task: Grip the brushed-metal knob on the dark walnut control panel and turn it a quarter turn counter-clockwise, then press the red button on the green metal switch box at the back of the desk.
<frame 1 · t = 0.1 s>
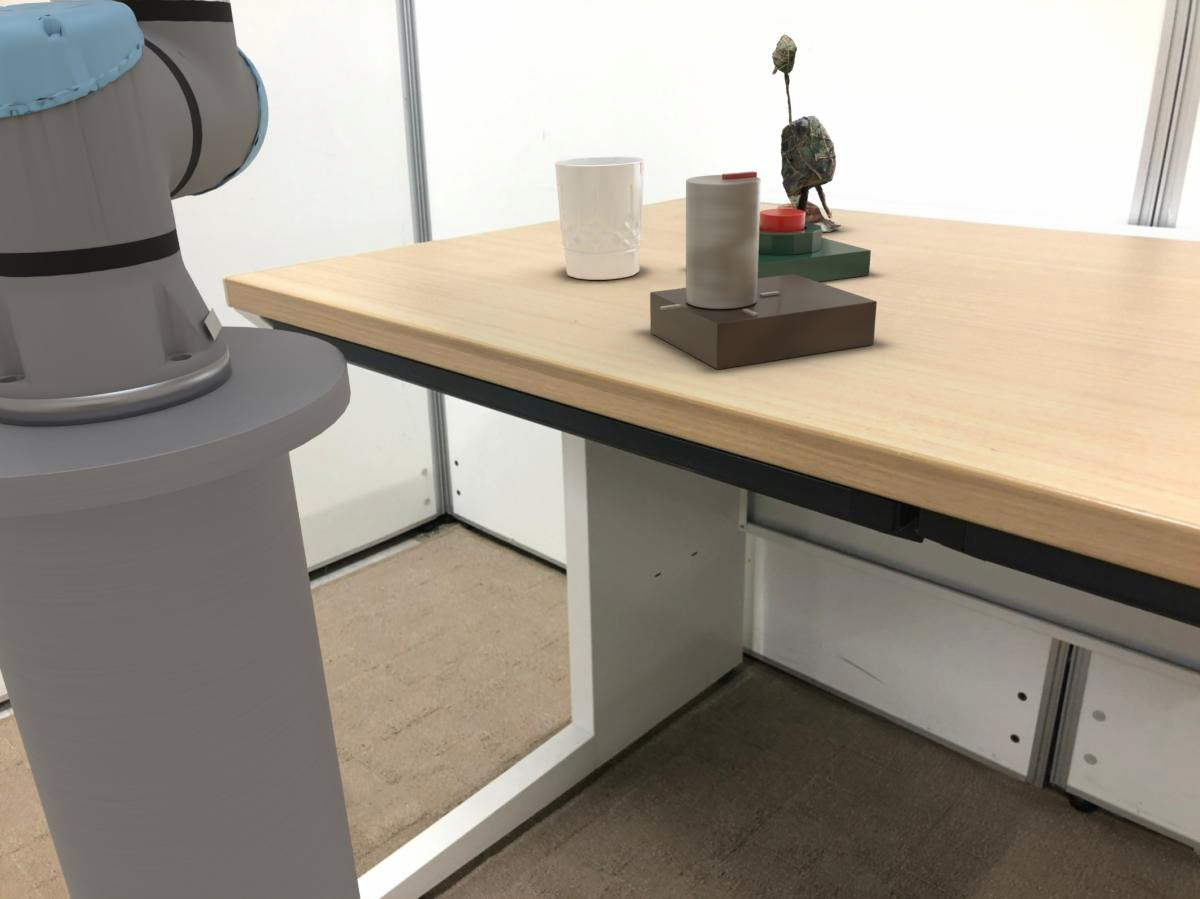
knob: (722, 239, 65), point 7 cm above the table, hinge at 0.0°
panel: (758, 338, 69), on the table
stone bird figurine: (801, 231, 109), on the table
white cup: (602, 275, 91), on the table
button: (781, 221, 87), point 4 cm above the table, slide at 0.1 cm
switchbox: (779, 272, 89), on the table
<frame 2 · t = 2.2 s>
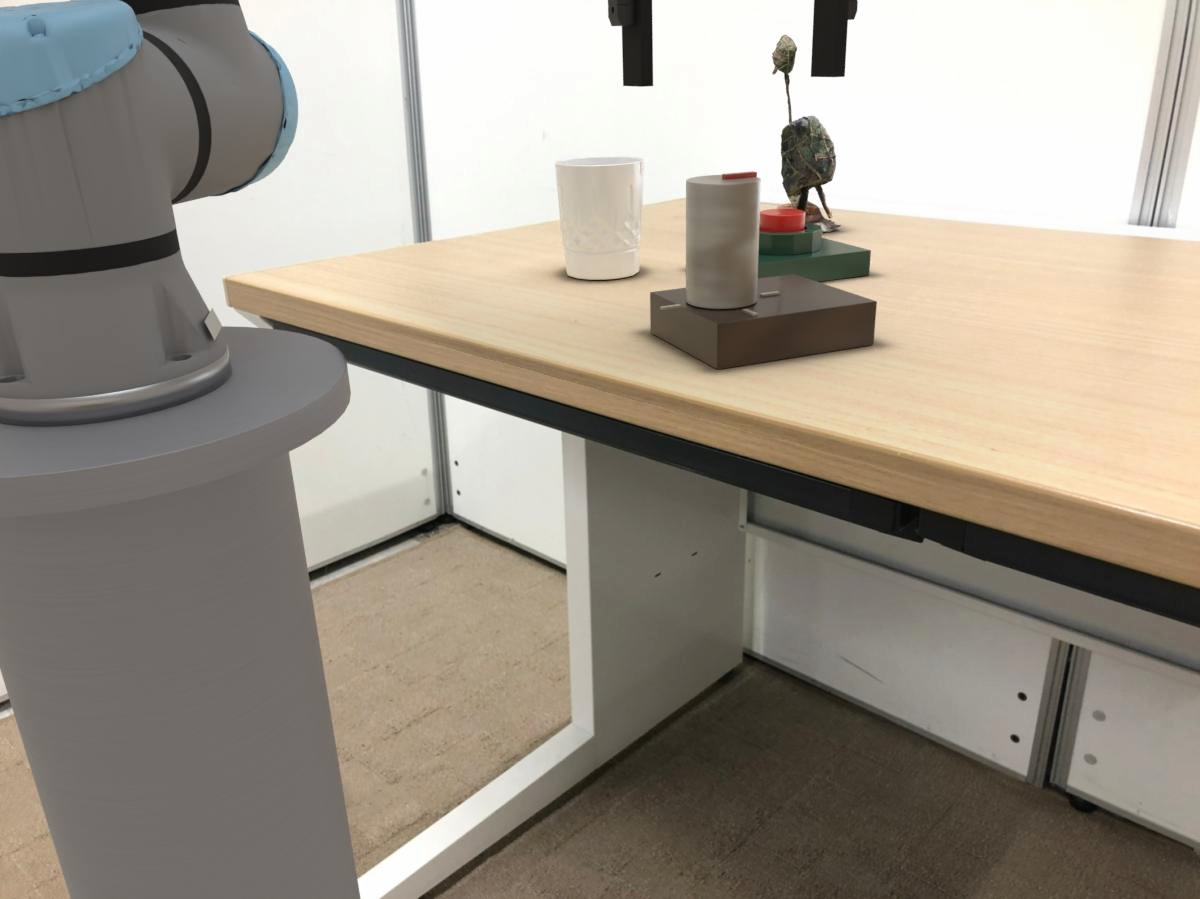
hand: (736, 82, 62), 17 cm above the table, tool pointing down, fingers open, 13 cm apart
nothing on the table moved.
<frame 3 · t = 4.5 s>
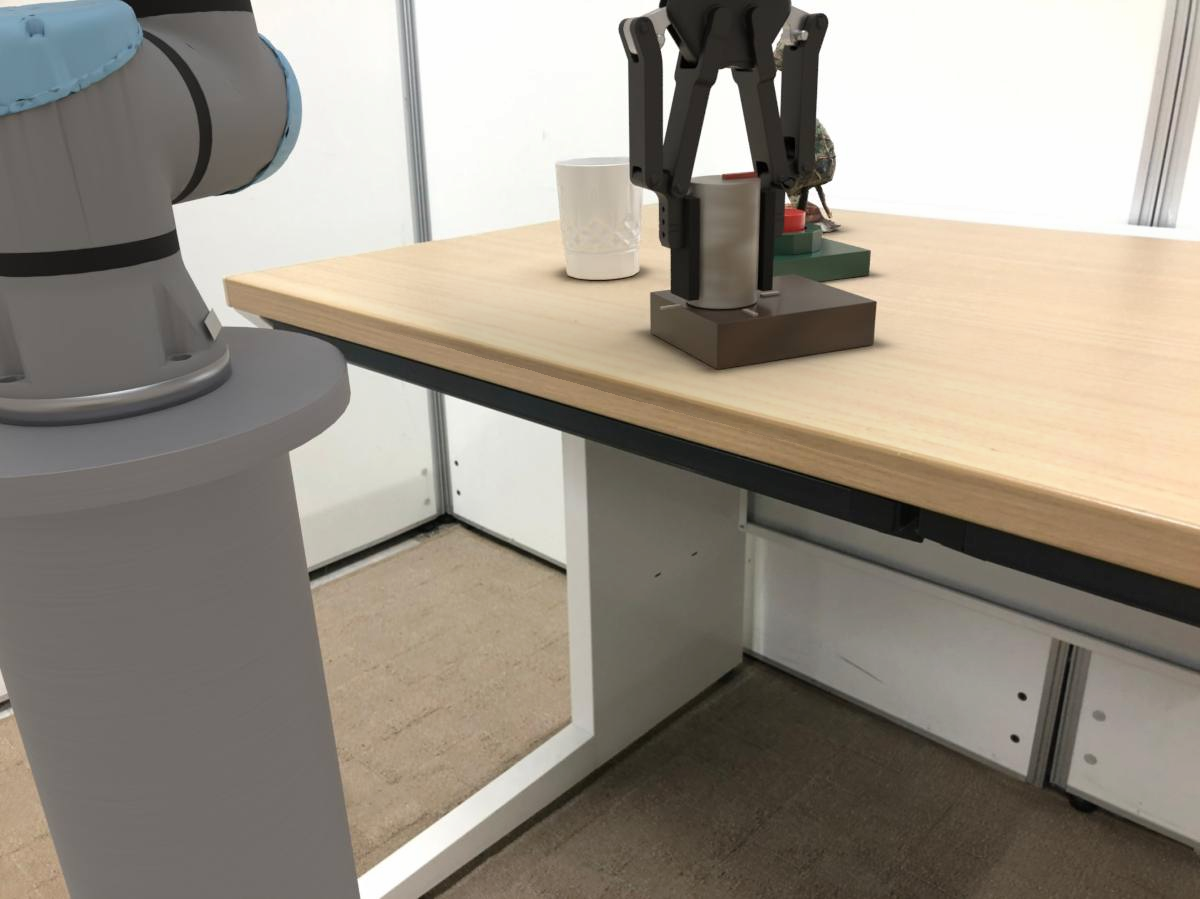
hand: (721, 290, 66), 4 cm above the table, tool pointing down, fingers closed on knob, 5 cm apart
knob: (722, 239, 65), point 7 cm above the table, hinge at 0.0°, touching gripper
everything else where it was.
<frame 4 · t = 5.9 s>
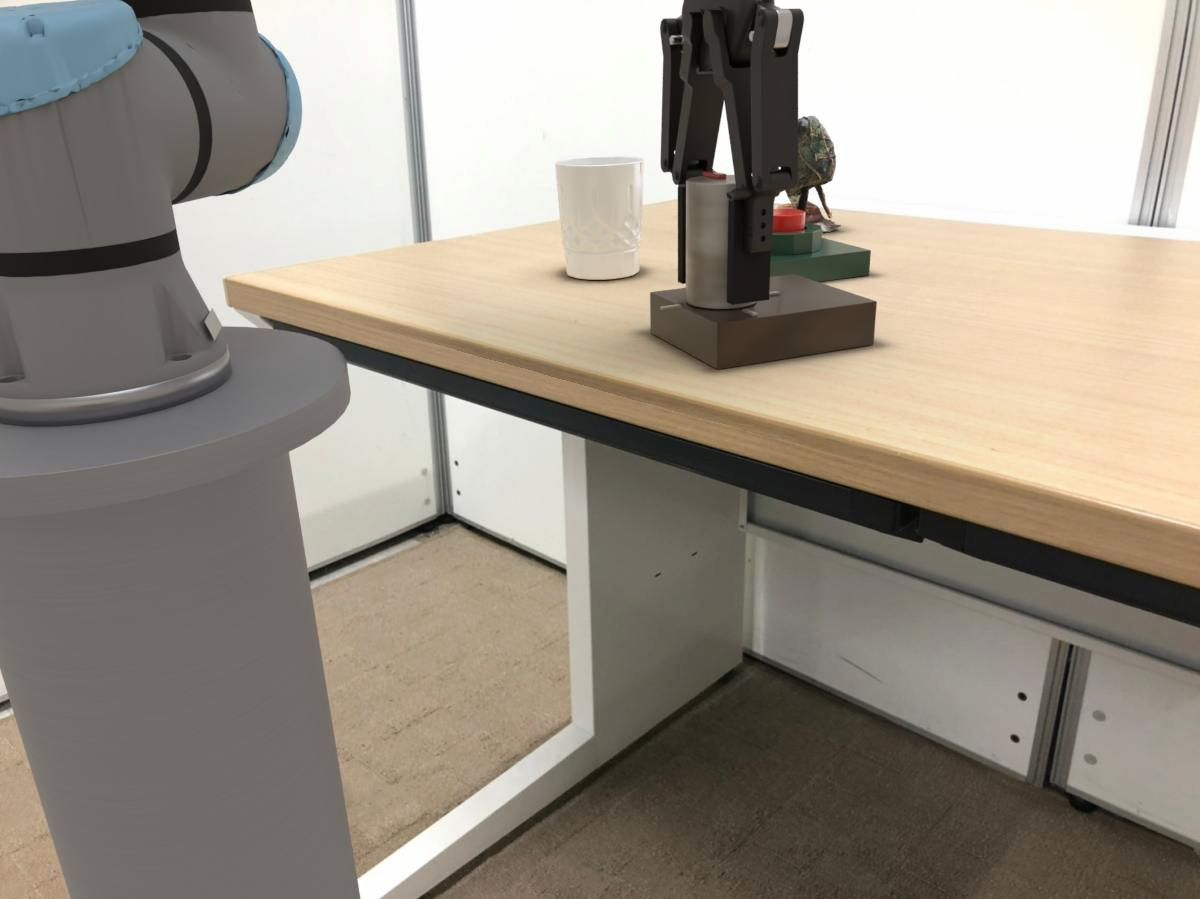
hand: (721, 289, 66), 4 cm above the table, tool pointing down, fingers open, 6 cm apart
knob: (722, 239, 65), point 7 cm above the table, hinge at 90.0°
everything else where it was.
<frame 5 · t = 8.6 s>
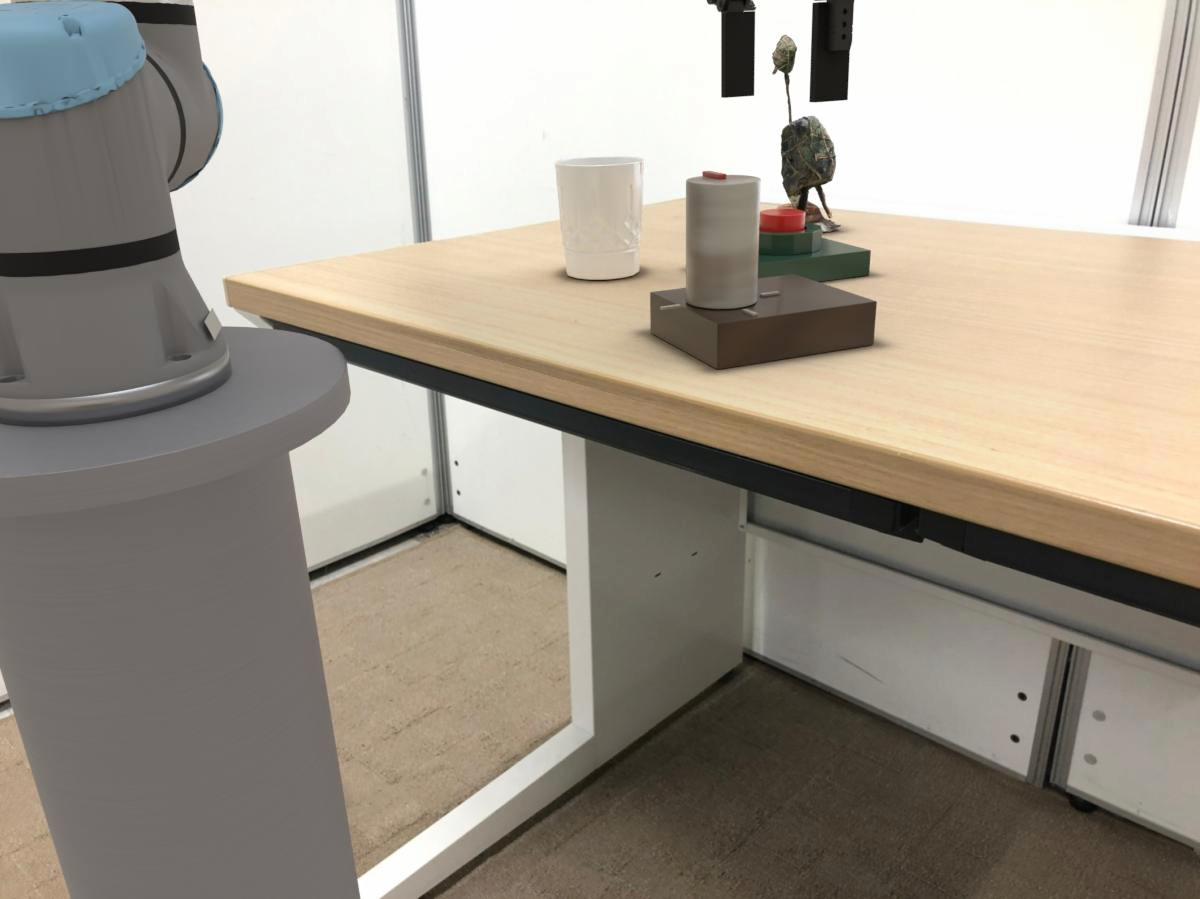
hand: (779, 99, 77), 15 cm above the table, tool pointing down, fingers open, 13 cm apart
nothing on the table moved.
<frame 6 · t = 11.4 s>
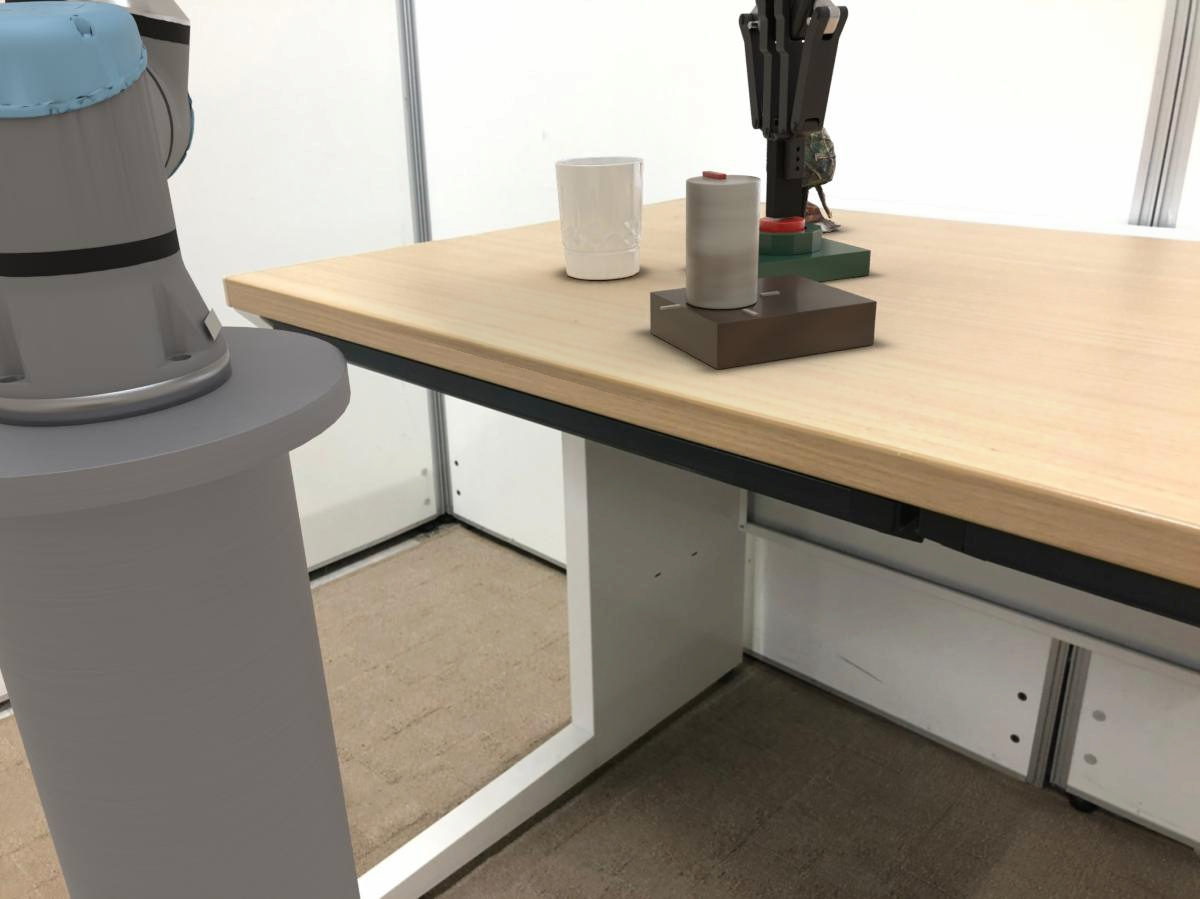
hand: (783, 216, 87), 5 cm above the table, tool pointing down, fingers closed
button: (781, 229, 87), point 4 cm above the table, slide at -0.5 cm, touching gripper
everything else where it was.
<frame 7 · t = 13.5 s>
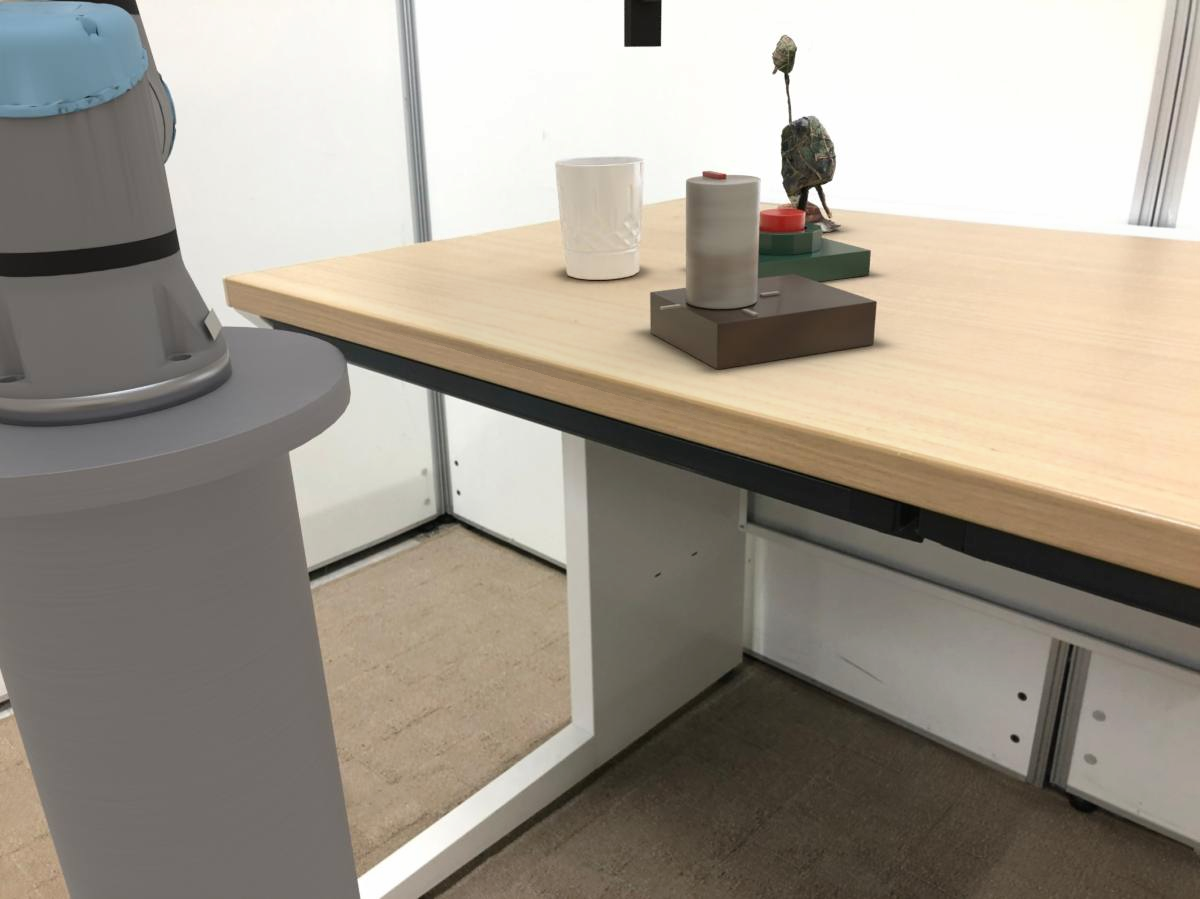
hand: (642, 46, 82), 19 cm above the table, tool pointing down, fingers closed
button: (781, 221, 87), point 4 cm above the table, slide at 0.1 cm
everything else where it was.
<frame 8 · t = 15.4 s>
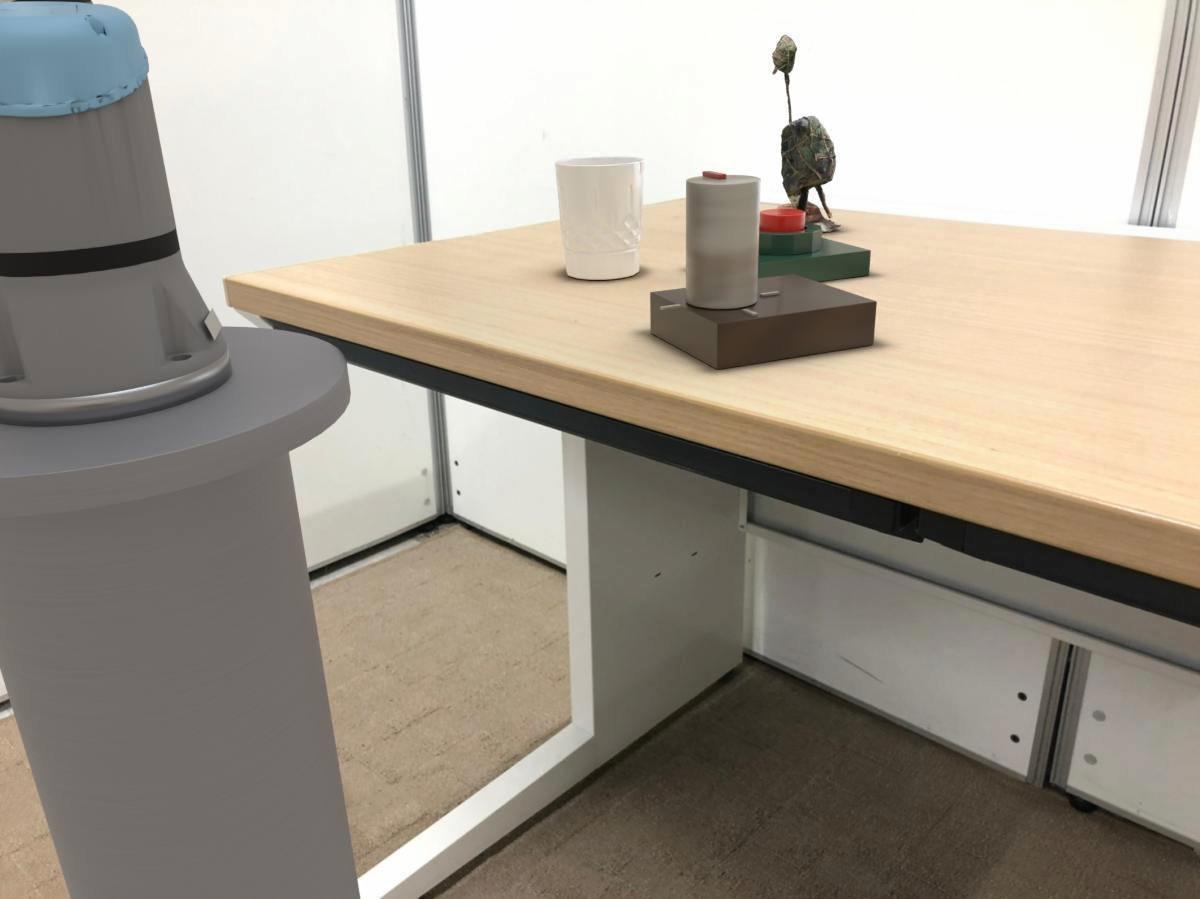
nothing on the table moved.
at the end: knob at +90° (first picture: +0°); button pushed in 1.0 cm at the most during the clip, back to where it started at the end; button slide at 0.1 cm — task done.
